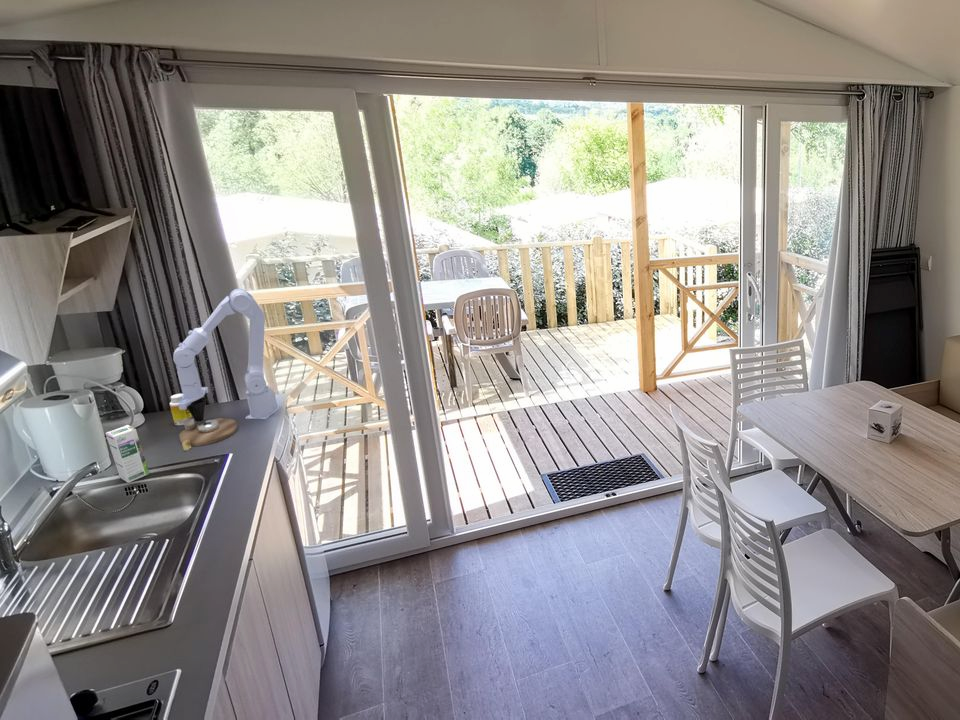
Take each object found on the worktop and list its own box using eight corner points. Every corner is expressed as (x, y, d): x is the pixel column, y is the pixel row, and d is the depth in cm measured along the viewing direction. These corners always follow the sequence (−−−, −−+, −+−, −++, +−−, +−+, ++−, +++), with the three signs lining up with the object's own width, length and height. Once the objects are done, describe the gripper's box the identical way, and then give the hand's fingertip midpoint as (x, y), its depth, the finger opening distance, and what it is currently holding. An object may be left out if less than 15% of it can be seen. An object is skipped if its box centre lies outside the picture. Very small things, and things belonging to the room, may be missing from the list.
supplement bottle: (191, 424, 184) (184, 397, 181) (173, 427, 183) (165, 399, 180) (194, 418, 190) (187, 391, 186) (177, 421, 188) (169, 394, 185)
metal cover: (206, 425, 178) (205, 419, 178) (222, 425, 177) (221, 419, 177) (194, 433, 173) (193, 427, 172) (211, 433, 172) (209, 427, 171)
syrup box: (128, 483, 149) (113, 436, 144) (119, 477, 152) (104, 431, 148) (149, 474, 153) (136, 428, 148) (140, 468, 156) (127, 423, 152)
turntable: (248, 423, 182) (245, 409, 180) (215, 447, 166) (212, 432, 164) (203, 421, 185) (200, 408, 183) (168, 445, 169) (164, 430, 168)
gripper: (190, 375, 183) (199, 412, 187) (165, 391, 169) (175, 430, 173) (210, 374, 182) (219, 411, 187) (186, 390, 169) (196, 429, 173)
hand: (199, 420), depth 180 cm, fingers closed
